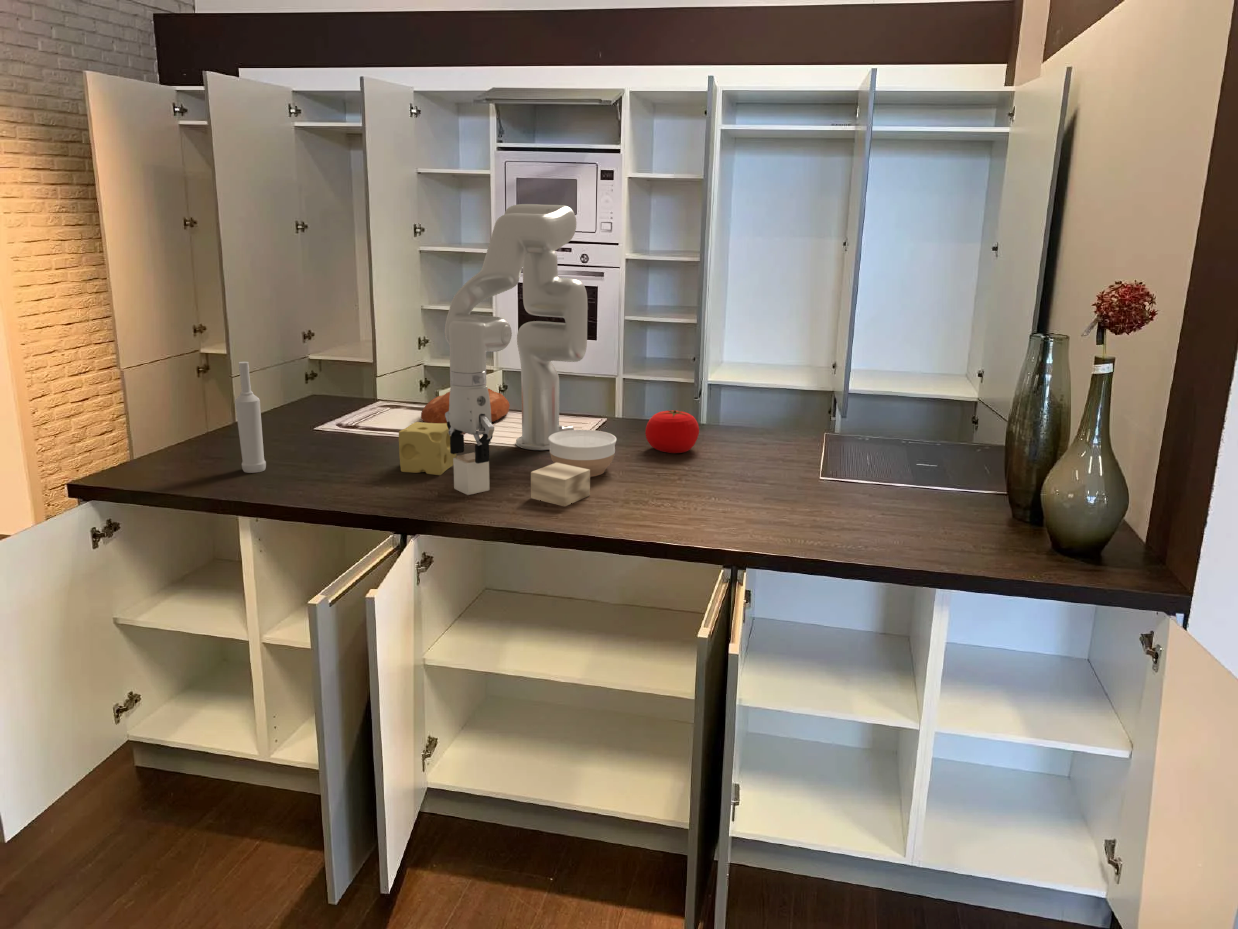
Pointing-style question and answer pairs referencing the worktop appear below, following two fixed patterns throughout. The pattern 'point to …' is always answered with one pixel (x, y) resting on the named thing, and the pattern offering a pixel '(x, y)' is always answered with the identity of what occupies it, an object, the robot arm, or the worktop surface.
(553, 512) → the worktop surface
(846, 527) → the worktop surface
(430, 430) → the cheese
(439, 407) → the bread
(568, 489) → the block
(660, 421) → the tomato
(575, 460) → the bowl
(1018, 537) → the worktop surface
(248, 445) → the bottle
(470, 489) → the white cube
